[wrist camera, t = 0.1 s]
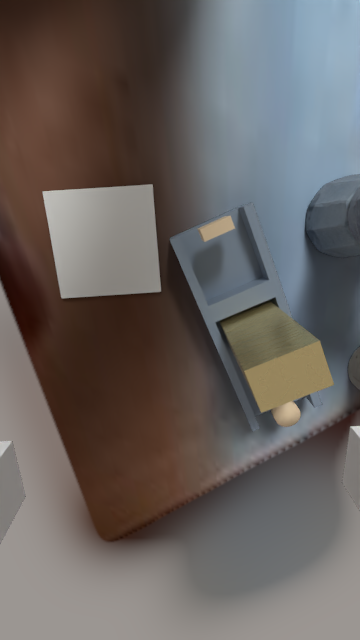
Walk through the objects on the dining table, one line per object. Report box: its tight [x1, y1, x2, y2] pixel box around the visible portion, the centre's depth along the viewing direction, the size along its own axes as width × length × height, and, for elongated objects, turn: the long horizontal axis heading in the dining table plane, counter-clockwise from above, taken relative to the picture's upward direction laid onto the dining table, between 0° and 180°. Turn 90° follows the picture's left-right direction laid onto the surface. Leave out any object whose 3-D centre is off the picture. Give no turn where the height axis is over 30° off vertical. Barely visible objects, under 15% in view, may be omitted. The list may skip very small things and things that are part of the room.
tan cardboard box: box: [219, 300, 334, 413], centre depth 31 cm, size 4×6×14 cm, turn 114°
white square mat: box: [43, 184, 161, 298], centre depth 37 cm, size 12×12×1 cm
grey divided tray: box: [170, 203, 322, 431], centre depth 36 cm, size 25×9×8 cm, turn 24°
